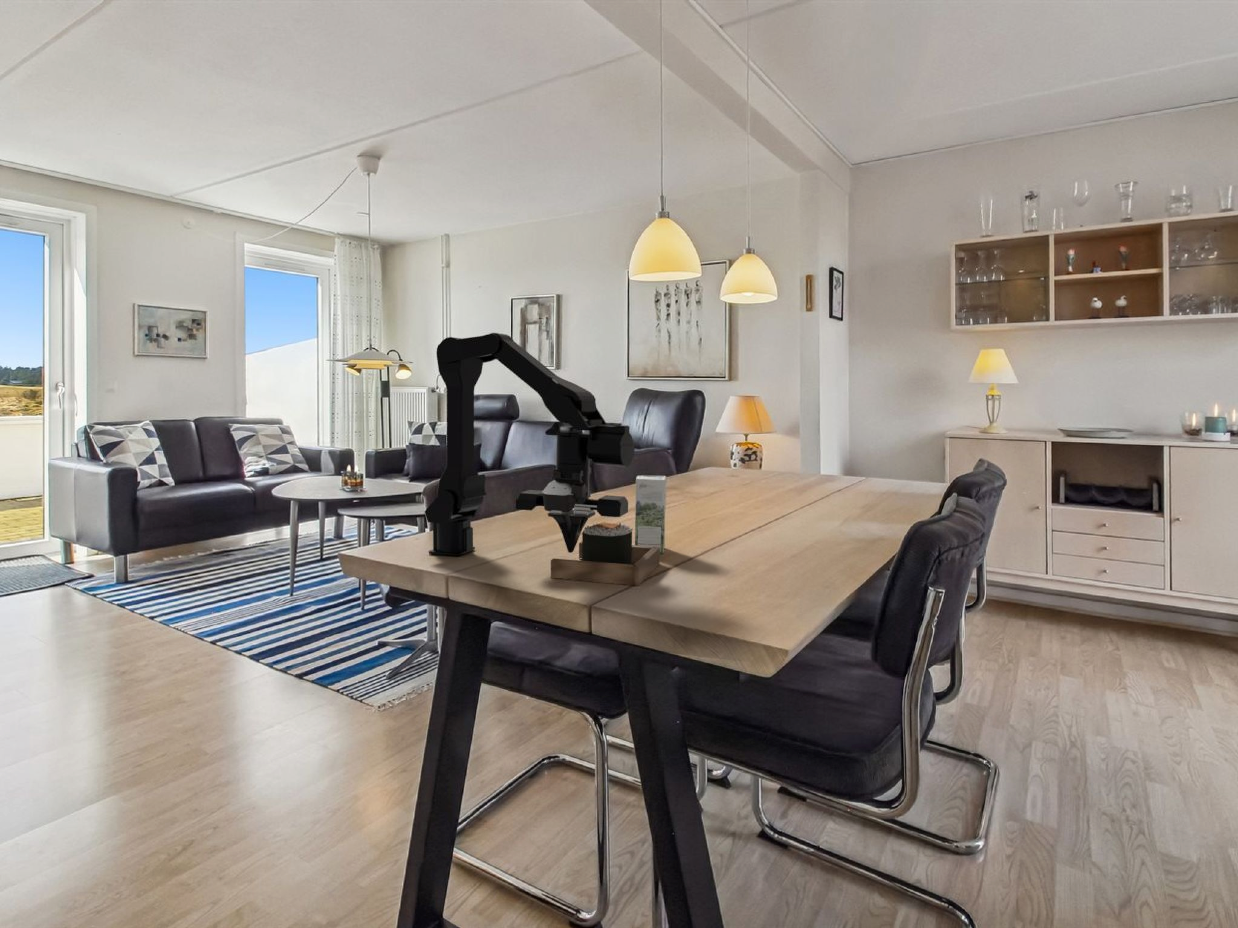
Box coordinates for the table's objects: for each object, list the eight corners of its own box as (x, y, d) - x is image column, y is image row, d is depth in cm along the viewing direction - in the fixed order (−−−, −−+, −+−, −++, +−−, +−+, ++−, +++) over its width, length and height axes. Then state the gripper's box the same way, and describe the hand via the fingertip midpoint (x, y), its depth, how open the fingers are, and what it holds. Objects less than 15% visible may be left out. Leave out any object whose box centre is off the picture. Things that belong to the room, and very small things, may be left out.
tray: (550, 578, 114) (550, 560, 114) (581, 557, 129) (581, 541, 129) (638, 585, 110) (638, 567, 110) (659, 563, 125) (659, 547, 125)
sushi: (575, 573, 118) (575, 526, 117) (597, 562, 125) (597, 518, 125) (618, 578, 114) (619, 530, 114) (638, 567, 122) (639, 522, 121)
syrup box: (665, 547, 139) (666, 475, 138) (664, 554, 133) (665, 478, 132) (636, 546, 139) (637, 474, 138) (634, 553, 134) (635, 477, 132)
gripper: (502, 463, 115) (501, 557, 116) (612, 470, 110) (609, 568, 111) (529, 458, 125) (527, 544, 127) (630, 464, 120) (627, 553, 122)
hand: (570, 552), depth 121 cm, fingers closed
